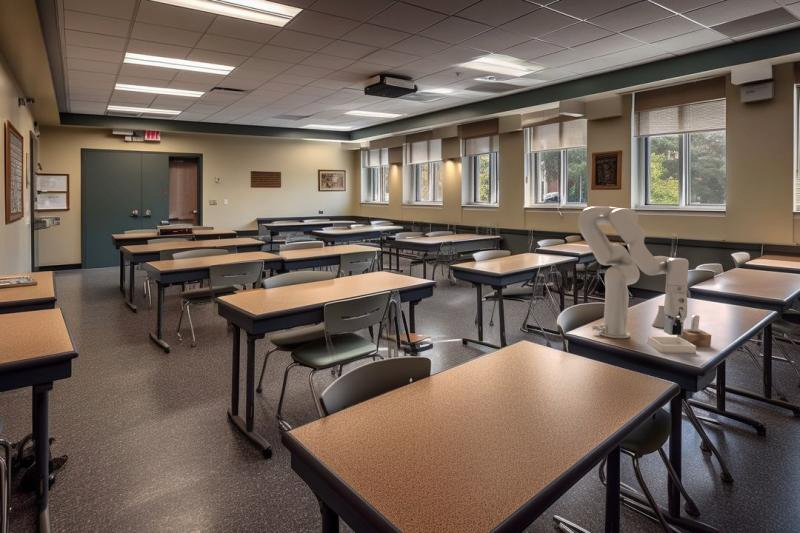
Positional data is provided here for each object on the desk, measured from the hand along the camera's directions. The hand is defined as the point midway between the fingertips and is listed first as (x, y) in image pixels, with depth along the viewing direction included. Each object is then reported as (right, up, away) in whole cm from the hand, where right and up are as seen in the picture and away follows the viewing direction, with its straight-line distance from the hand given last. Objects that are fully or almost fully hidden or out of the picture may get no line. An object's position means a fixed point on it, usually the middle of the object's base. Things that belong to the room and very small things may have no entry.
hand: (673, 332), depth 196 cm
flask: (+14, -2, +36) cm, 39 cm away
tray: (0, -7, +1) cm, 7 cm away
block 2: (+13, -6, +8) cm, 17 cm away
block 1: (0, 0, 0) cm, 1 cm away
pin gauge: (+13, -6, +8) cm, 17 cm away
